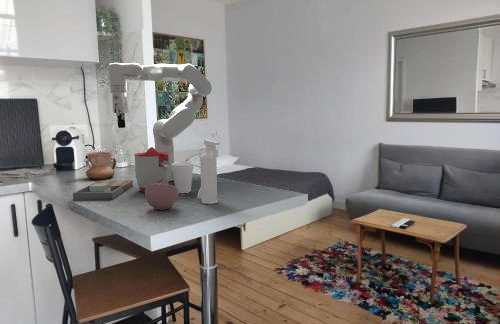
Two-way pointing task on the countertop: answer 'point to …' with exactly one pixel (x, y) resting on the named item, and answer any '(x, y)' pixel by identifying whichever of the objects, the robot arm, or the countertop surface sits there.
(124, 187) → the walnut plate
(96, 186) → the sage tile
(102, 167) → the ceramic jug
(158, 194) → the apple
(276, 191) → the countertop surface
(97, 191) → the cream tile
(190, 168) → the foam cup
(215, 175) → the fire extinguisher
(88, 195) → the box
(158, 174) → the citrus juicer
